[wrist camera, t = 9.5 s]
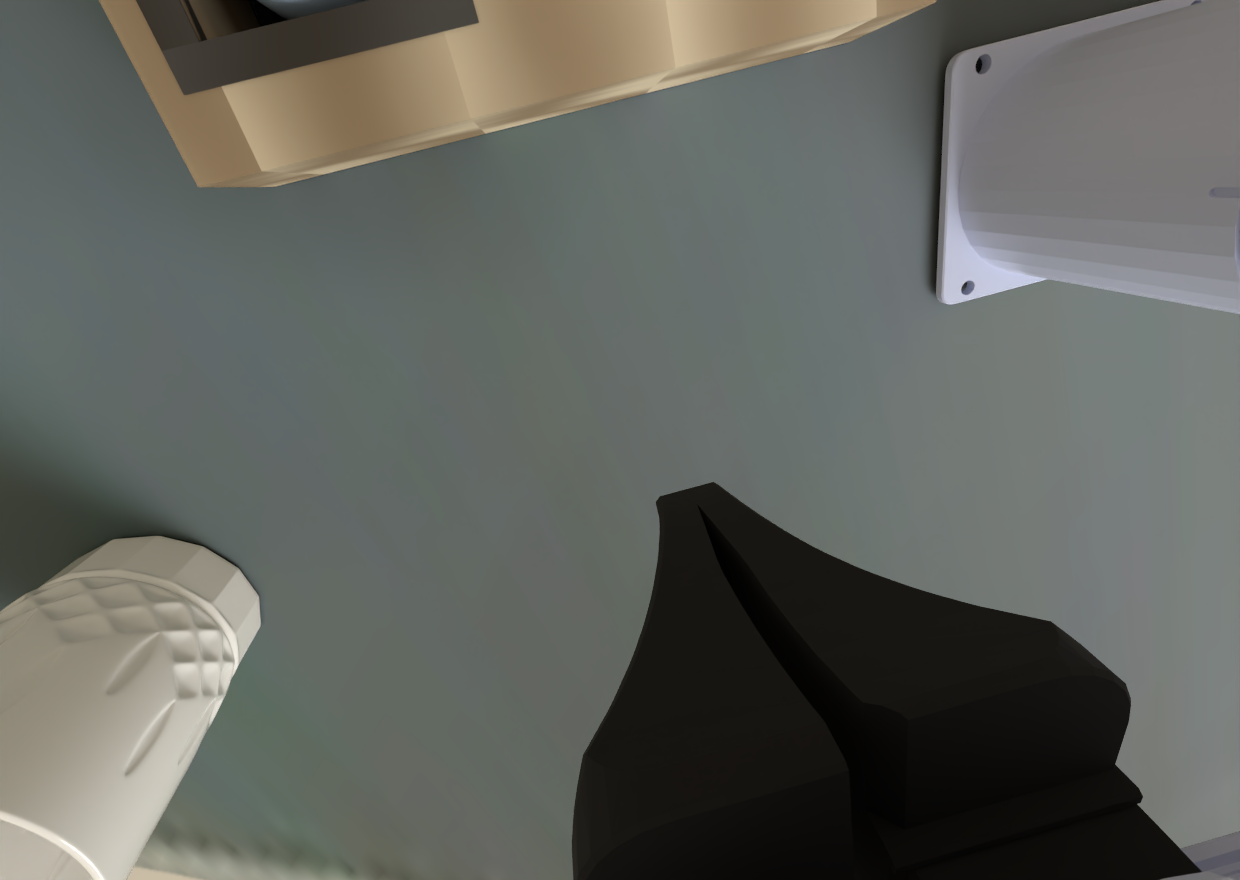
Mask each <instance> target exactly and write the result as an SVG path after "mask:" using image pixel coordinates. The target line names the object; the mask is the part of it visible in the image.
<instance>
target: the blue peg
mask: <svg viewBox="0 0 1240 880" xmlns="http://www.w3.org/2000/svg"><path fill="white" fill-rule="evenodd" d="M257 1H258V2H260V3H261V4H263V5H264V6H266V7H267V8H269V9H270V10H272V11H273V12H275V13H276V14H278V15H279V16H281V17H283V18H284V19H286V20H291V19H295V18H299V17H303V16H307V15H311V14H315V13H319V12H324V11H328V10H332V9H336V8H340V7H344V6H348V5H352V4H356V3H360V2H365V1H369V0H257Z"/></svg>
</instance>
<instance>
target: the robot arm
mask: <svg viewBox="0 0 1240 880" xmlns="http://www.w3.org/2000/svg"><path fill="white" fill-rule="evenodd" d="M979 58H980V59H981V60H982V68H981V71H980V72H979V73H977V72H976V67H975V66H976V62H977V60H978V59H979ZM1046 279H1051V280H1057V281H1062V282H1067V283H1073V284H1078V285H1084V286H1089V287H1095V288H1100V289H1106V290H1111V291H1117V292H1122V293H1128V294H1133V295H1139V296H1144V297H1150V298H1155V299H1160V300H1166V301H1171V302H1177V303H1182V304H1188V305H1193V306H1199V307H1204V308H1210V309H1215V310H1221V311H1226V312H1232V313H1237V314H1240V0H1161V1H1157V2H1153V3H1149V4H1145V5H1141V6H1138V7H1134V8H1130V9H1126V10H1122V11H1118V12H1114V13H1110V14H1106V15H1102V16H1098V17H1094V18H1090V19H1086V20H1082V21H1078V22H1074V23H1070V24H1067V25H1063V26H1059V27H1055V28H1051V29H1047V30H1043V31H1039V32H1035V33H1031V34H1027V35H1023V36H1019V37H1015V38H1011V39H1007V40H1003V41H999V42H996V43H992V44H988V45H984V46H980V47H976V48H972V49H968V50H965V51H962V52H960V53H958V54H956V55H955V56H954V57H953V58H952V59H951V60H950V62H949V64H948V66H947V69H946V74H945V95H944V118H943V141H942V165H941V188H940V211H939V234H938V258H937V281H936V296H937V299H938V300H939V301H940V302H942V303H945V304H956V303H960V302H963V301H967V300H971V299H975V298H979V297H982V296H986V295H990V294H994V293H997V292H1001V291H1005V290H1009V289H1012V288H1016V287H1020V286H1024V285H1027V284H1031V283H1035V282H1039V281H1043V280H1046ZM965 282H967V286H966V289H965V290H964V291H963V292H961V288H962V285H963V284H964V283H965ZM656 506H657V510H658V514H659V520H660V539H659V553H658V562H657V568H656V574H655V580H654V586H653V591H652V596H651V600H650V604H649V608H648V612H647V615H646V619H645V622H644V626H643V629H642V632H641V635H640V637H639V640H638V643H637V646H636V649H635V652H634V655H633V657H632V660H631V662H630V665H629V667H628V669H627V671H626V674H625V676H624V678H623V680H622V682H621V685H620V687H619V689H618V691H617V694H616V696H615V698H614V700H613V702H612V704H611V706H610V708H609V710H608V712H607V714H606V716H605V717H604V719H603V721H602V723H601V724H600V726H599V728H598V730H597V732H596V733H595V735H594V737H593V739H592V740H591V742H590V744H589V746H588V747H587V749H586V751H585V753H584V755H583V758H582V763H581V769H580V774H579V780H578V785H577V792H576V799H575V807H574V817H573V834H572V859H573V878H574V880H1240V831H1239V832H1235V833H1232V834H1228V835H1225V836H1222V837H1218V838H1215V839H1211V840H1208V841H1205V842H1201V843H1198V844H1195V845H1191V846H1188V847H1184V848H1181V849H1180V848H1179V847H1178V846H1177V845H1176V844H1175V843H1174V842H1173V841H1172V840H1171V839H1170V838H1169V837H1168V836H1167V835H1166V834H1165V833H1164V832H1163V831H1162V830H1161V829H1160V828H1159V826H1158V825H1157V824H1156V823H1155V822H1154V821H1153V820H1152V819H1151V818H1150V817H1149V816H1148V815H1147V814H1146V813H1145V812H1144V811H1143V810H1142V809H1141V808H1140V807H1139V806H1138V805H1137V804H1138V803H1141V800H1142V798H1143V796H1142V794H1141V792H1140V790H1139V788H1138V787H1137V786H1136V785H1135V784H1134V783H1133V782H1132V781H1131V780H1130V779H1129V778H1128V777H1127V776H1126V775H1125V774H1124V773H1123V772H1122V771H1121V770H1120V769H1119V768H1118V767H1117V766H1116V765H1115V763H1116V759H1117V756H1118V753H1119V750H1120V747H1121V744H1122V741H1123V738H1124V735H1125V731H1126V728H1127V725H1128V722H1129V715H1130V707H1131V698H1130V695H1129V692H1128V689H1127V686H1126V684H1125V683H1124V682H1123V681H1122V680H1121V679H1120V678H1118V677H1117V676H1116V675H1115V674H1114V673H1113V672H1112V671H1111V670H1109V669H1108V668H1107V667H1106V666H1105V665H1104V664H1103V663H1101V662H1100V661H1099V660H1098V659H1097V658H1096V657H1095V656H1093V655H1092V654H1091V653H1090V652H1089V651H1088V650H1087V649H1086V648H1084V647H1083V646H1082V645H1081V644H1080V643H1078V642H1077V641H1076V640H1074V639H1073V638H1072V637H1071V636H1069V635H1068V634H1067V633H1065V632H1064V631H1063V630H1061V629H1060V628H1059V627H1057V626H1056V625H1055V624H1053V623H1052V622H1051V621H1046V620H1041V619H1036V618H1032V617H1027V616H1022V615H1018V614H1013V613H1008V612H1004V611H999V610H994V609H989V608H985V607H980V606H976V605H972V604H968V603H965V602H961V601H957V600H954V599H950V598H946V597H943V596H939V595H935V594H932V593H929V592H926V591H922V590H919V589H916V588H913V587H910V586H906V585H904V584H901V583H898V582H895V581H892V580H890V579H887V578H884V577H881V576H879V575H876V574H873V573H870V572H868V571H865V570H863V569H860V568H858V567H856V566H853V565H851V564H849V563H847V562H844V561H842V560H840V559H838V558H835V557H833V556H831V555H829V554H827V553H824V552H822V551H820V550H818V549H816V548H814V547H812V546H811V545H809V544H807V543H805V542H803V541H802V540H800V539H798V538H796V537H794V536H793V535H791V534H789V533H788V532H786V531H784V530H783V529H781V528H779V527H778V526H776V525H775V524H773V523H772V522H770V521H769V520H767V519H765V518H764V517H762V516H761V515H759V514H758V513H756V512H755V511H753V510H752V509H751V508H749V507H748V506H746V505H745V504H743V503H742V502H741V501H739V500H738V499H737V498H735V497H734V496H732V495H731V494H730V493H728V492H727V491H726V490H724V489H723V488H722V487H720V486H719V485H718V484H716V483H714V482H712V483H708V484H704V485H701V486H697V487H693V488H690V489H686V490H682V491H679V492H675V493H671V494H668V495H664V496H660V497H659V498H658V500H657V501H656Z"/></svg>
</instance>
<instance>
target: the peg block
mask: <svg viewBox="0 0 1240 880" xmlns="http://www.w3.org/2000/svg"><path fill="white" fill-rule="evenodd" d="M99 2H100V3H101V5H102V7H103V9H104V11H105V13H106V15H107V17H108V19H109V20H110V22H111V24H112V26H113V28H114V30H115V32H116V34H117V35H118V37H119V39H120V41H121V43H122V45H123V47H124V49H125V50H126V52H127V54H128V56H129V58H130V60H131V62H132V64H133V66H134V67H135V69H136V71H137V73H138V75H139V77H140V79H141V81H142V82H143V84H144V86H145V88H146V90H147V92H148V94H149V96H150V98H151V99H152V101H153V103H154V105H155V107H156V109H157V111H158V113H159V114H160V116H161V118H162V120H163V122H164V124H165V126H166V128H167V130H168V131H169V133H170V135H171V137H172V139H173V141H174V143H175V145H176V146H177V148H178V150H179V152H180V154H181V156H182V158H183V160H184V162H185V163H186V165H187V167H188V169H189V171H190V173H191V175H192V177H193V178H194V180H195V182H196V184H197V186H198V187H276V186H280V185H284V184H288V183H292V182H296V181H300V180H304V179H308V178H312V177H316V176H320V175H324V174H328V173H332V172H336V171H339V170H343V169H347V168H351V167H355V166H359V165H363V164H367V163H371V162H375V161H379V160H383V159H387V158H391V157H395V156H399V155H403V154H407V153H411V152H415V151H419V150H423V149H427V148H431V147H435V146H439V145H443V144H447V143H451V142H455V141H459V140H463V139H467V138H471V137H475V136H478V135H482V134H486V133H490V132H494V131H498V130H502V129H506V128H510V127H514V126H518V125H522V124H526V123H530V122H534V121H538V120H542V119H546V118H550V117H554V116H558V115H562V114H566V113H570V112H574V111H578V110H582V109H586V108H590V107H594V106H598V105H602V104H606V103H610V102H614V101H617V100H621V99H625V98H629V97H633V96H637V95H641V94H645V93H649V92H653V91H657V90H661V89H665V88H669V87H673V86H677V85H681V84H685V83H689V82H693V81H697V80H701V79H705V78H709V77H713V76H717V75H721V74H725V73H729V72H733V71H737V70H741V69H745V68H749V67H753V66H757V65H760V64H764V63H768V62H772V61H776V60H780V59H784V58H788V57H792V56H796V55H800V54H804V53H808V52H812V51H816V50H820V49H824V48H828V47H832V46H836V45H840V44H844V43H848V42H851V41H853V40H855V39H857V38H859V37H862V36H864V35H866V34H868V33H870V32H872V31H875V30H877V29H879V28H881V27H883V26H885V25H888V24H890V23H892V22H894V21H896V20H898V19H901V18H903V17H905V16H907V15H909V14H911V13H914V12H916V11H918V10H920V9H922V8H924V7H927V6H929V5H931V4H933V3H935V2H936V0H369V1H365V2H360V3H356V4H352V5H348V6H344V7H340V8H336V9H332V10H328V11H324V12H319V13H315V14H311V15H307V16H303V17H299V18H295V19H291V20H287V21H283V22H278V23H274V24H270V25H266V26H262V27H260V26H259V24H258V21H257V19H256V17H255V14H254V12H253V10H252V7H251V5H250V3H249V0H99Z"/></svg>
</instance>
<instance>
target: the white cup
mask: <svg viewBox="0 0 1240 880" xmlns="http://www.w3.org/2000/svg"><path fill="white" fill-rule="evenodd" d="M260 626H261V619H260V605H259V596H258V594H257V593H256V591H255V590H254V589H253V587H252V586H251V584H250V583H249V582H248V580H247V579H246V577H245V576H244V575H243V573H242V572H241V571H240V569H239V568H238V567H236V566H235V565H233V564H231V563H230V562H228V561H226V560H225V559H223V558H222V557H220V556H218V555H217V554H215V553H213V552H212V551H210V550H208V549H207V548H205V547H203V546H200V545H196V544H192V543H188V542H184V541H179V540H175V539H171V538H167V537H163V536H147V537H134V538H122V539H113V540H111V541H109V542H107V543H105V544H104V545H102V546H100V547H98V548H96V549H94V550H92V551H91V552H89V553H87V554H85V555H83V556H81V557H79V558H78V559H76V560H75V561H74V562H72V563H71V564H70V565H68V566H67V567H66V568H64V569H63V570H62V571H60V572H59V573H58V574H56V575H55V576H54V577H52V578H51V579H50V580H48V581H47V582H46V583H44V584H43V585H42V586H40V587H39V588H38V589H35V590H33V591H30V592H28V593H26V594H25V595H23V596H21V597H20V598H18V599H17V600H15V601H14V602H12V603H11V604H10V605H8V606H7V607H5V608H4V609H3V610H1V611H0V880H127V878H128V876H129V875H130V873H131V871H132V869H133V867H134V865H135V864H136V862H137V860H138V858H139V856H140V855H141V853H142V851H143V849H144V847H145V845H146V844H147V842H148V840H149V838H150V836H151V834H152V833H153V831H154V829H155V827H156V825H157V824H158V822H159V820H160V818H161V816H162V814H163V813H164V811H165V809H166V807H167V805H168V804H169V802H170V800H171V798H172V796H173V795H174V793H175V791H176V789H177V787H178V785H179V784H180V782H181V780H182V778H183V777H184V775H185V773H186V771H187V769H188V768H189V766H190V764H191V762H192V760H193V758H194V756H195V754H196V752H197V750H198V748H199V746H200V743H201V741H202V739H203V737H204V735H205V733H206V732H207V731H208V729H209V727H210V725H211V723H212V721H213V719H214V717H215V716H216V714H217V712H218V710H219V707H220V705H221V703H222V701H223V699H224V697H225V695H226V694H227V692H228V688H229V684H230V681H231V678H232V677H233V675H234V673H235V671H236V669H237V667H238V665H239V663H240V661H241V660H242V658H243V656H244V654H245V653H246V651H247V649H248V647H249V646H250V644H251V642H252V640H253V639H254V637H255V635H256V633H257V632H258V630H259V628H260Z"/></svg>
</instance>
